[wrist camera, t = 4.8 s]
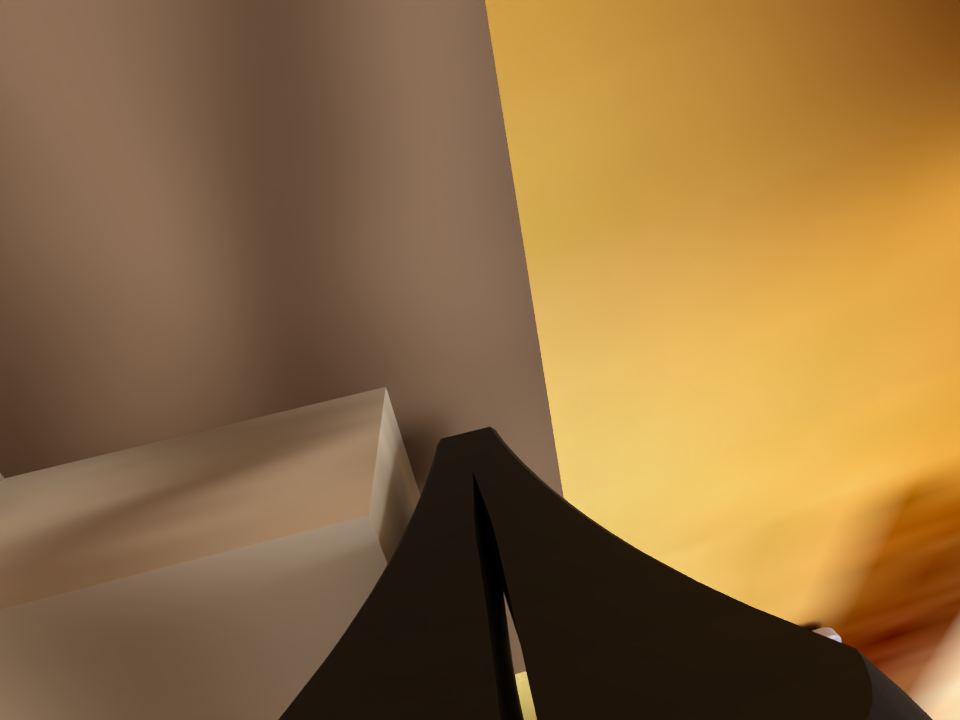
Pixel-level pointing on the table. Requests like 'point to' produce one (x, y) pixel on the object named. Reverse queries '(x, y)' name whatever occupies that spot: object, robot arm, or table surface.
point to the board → (258, 226)
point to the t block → (198, 565)
